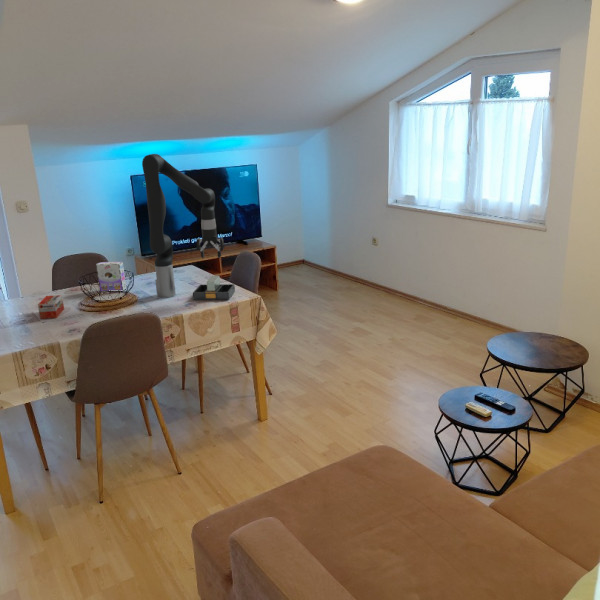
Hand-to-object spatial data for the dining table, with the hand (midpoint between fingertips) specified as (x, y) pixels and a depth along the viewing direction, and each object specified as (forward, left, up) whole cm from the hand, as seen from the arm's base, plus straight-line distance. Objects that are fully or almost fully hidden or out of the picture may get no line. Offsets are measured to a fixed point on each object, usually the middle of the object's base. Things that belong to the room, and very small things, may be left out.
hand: (211, 257), depth 307 cm
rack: (0, 0, -21) cm, 21 cm away
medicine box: (-77, -29, -22) cm, 85 cm away
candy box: (-62, +11, -21) cm, 67 cm away
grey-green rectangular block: (0, 0, -20) cm, 20 cm away
